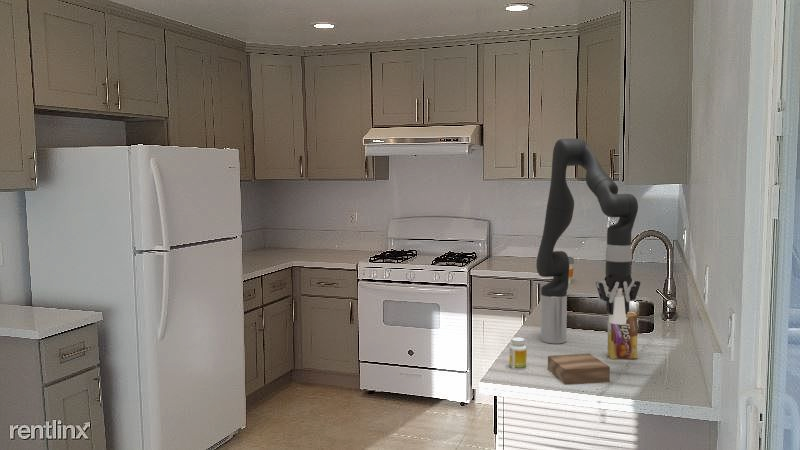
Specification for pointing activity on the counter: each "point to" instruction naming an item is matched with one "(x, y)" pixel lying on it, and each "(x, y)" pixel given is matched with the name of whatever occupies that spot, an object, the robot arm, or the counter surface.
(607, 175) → the robot arm
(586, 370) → the walnut riser
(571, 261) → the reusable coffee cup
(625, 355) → the candy box
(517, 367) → the supplement bottle
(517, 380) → the counter surface
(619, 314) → the salt shaker
